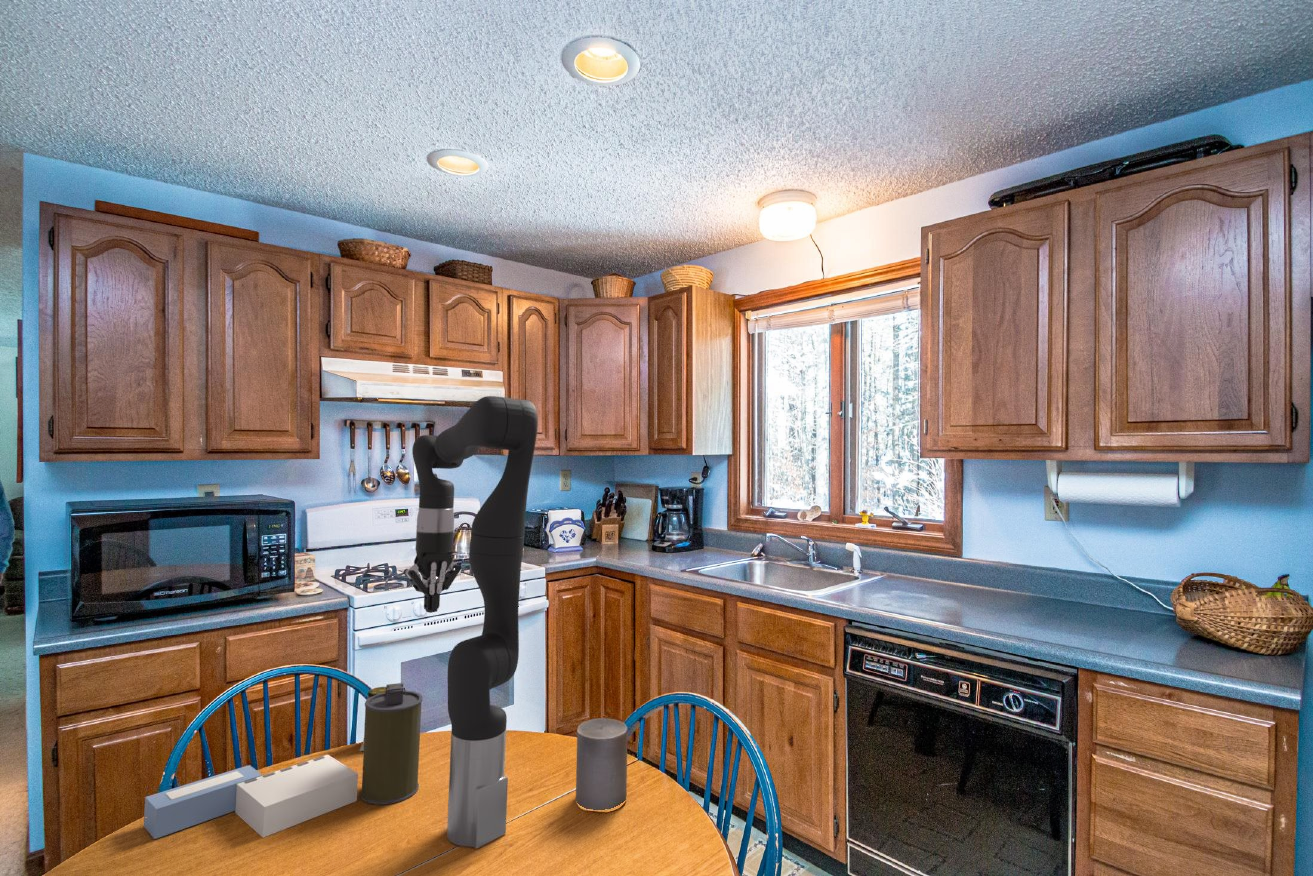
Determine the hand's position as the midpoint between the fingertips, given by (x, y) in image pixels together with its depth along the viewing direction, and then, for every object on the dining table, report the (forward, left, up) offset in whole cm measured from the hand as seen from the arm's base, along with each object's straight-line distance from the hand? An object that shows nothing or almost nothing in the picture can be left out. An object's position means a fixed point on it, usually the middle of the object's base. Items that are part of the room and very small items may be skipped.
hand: (431, 611), depth 137 cm
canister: (-4, +10, -32) cm, 34 cm away
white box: (+3, +24, -32) cm, 40 cm away
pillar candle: (-37, -14, -32) cm, 51 cm away
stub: (+12, +36, -32) cm, 49 cm away
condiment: (+18, 0, -32) cm, 37 cm away
